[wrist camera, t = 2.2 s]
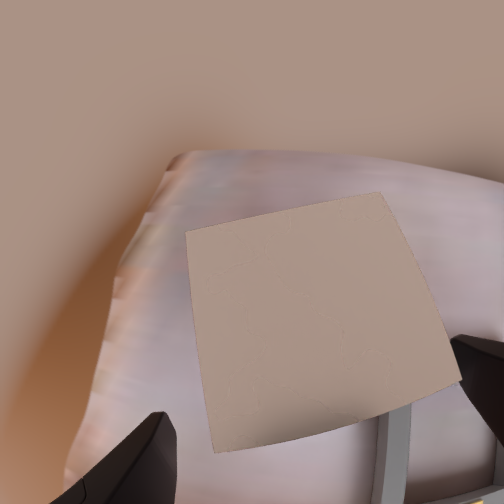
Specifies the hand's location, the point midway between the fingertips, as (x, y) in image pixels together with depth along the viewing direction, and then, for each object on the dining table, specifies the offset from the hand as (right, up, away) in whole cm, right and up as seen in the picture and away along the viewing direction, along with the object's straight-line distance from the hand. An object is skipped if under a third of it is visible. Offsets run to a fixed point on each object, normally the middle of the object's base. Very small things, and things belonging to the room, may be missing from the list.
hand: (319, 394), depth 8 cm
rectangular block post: (+1, -4, +8) cm, 9 cm away
